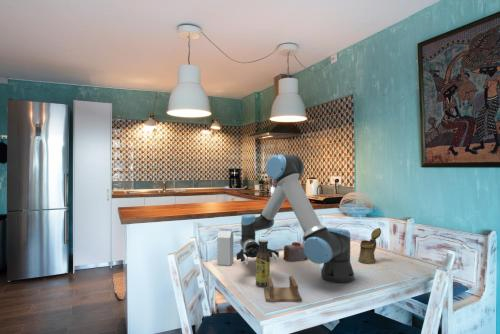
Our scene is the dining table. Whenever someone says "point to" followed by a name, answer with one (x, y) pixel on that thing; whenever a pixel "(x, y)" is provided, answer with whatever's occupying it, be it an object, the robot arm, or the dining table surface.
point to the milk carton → (225, 247)
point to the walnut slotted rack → (282, 292)
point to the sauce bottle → (262, 264)
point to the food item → (294, 252)
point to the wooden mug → (369, 248)
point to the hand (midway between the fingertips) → (261, 260)
